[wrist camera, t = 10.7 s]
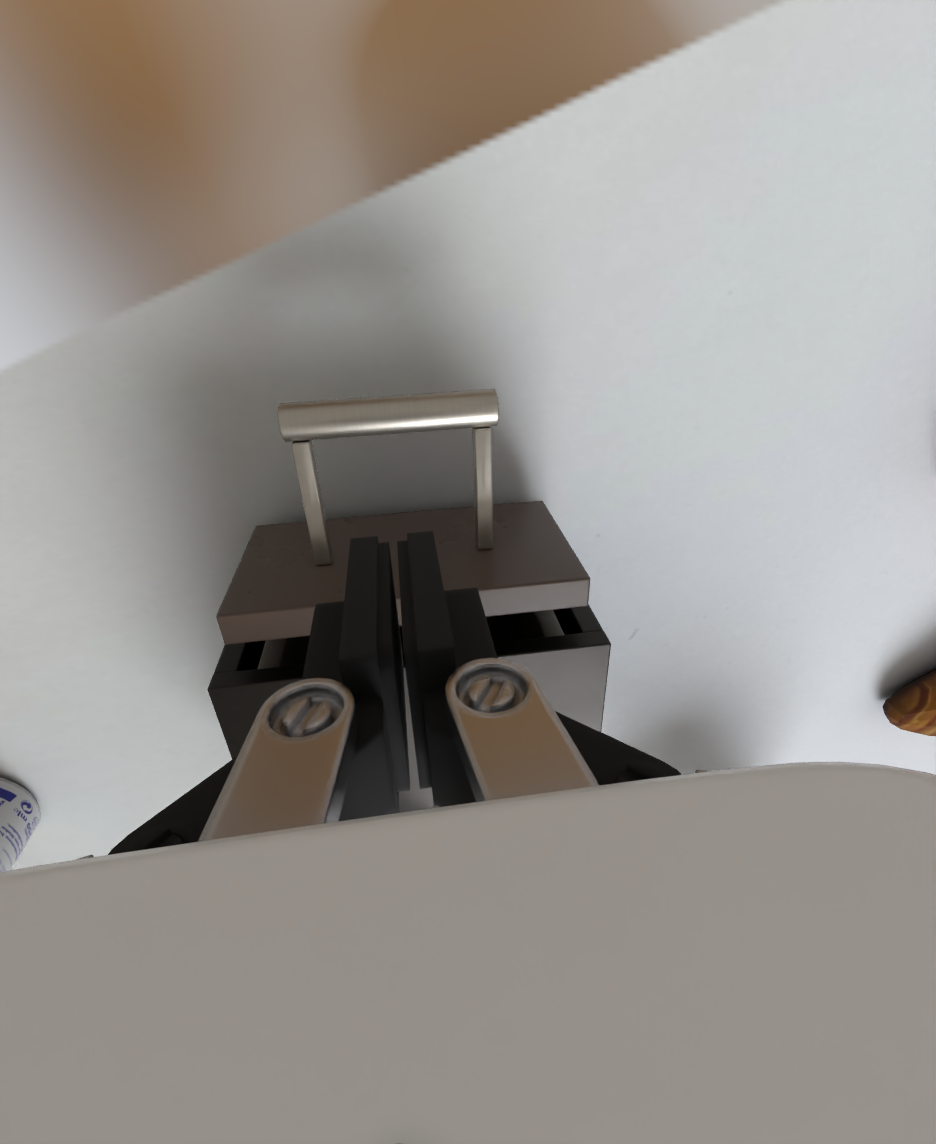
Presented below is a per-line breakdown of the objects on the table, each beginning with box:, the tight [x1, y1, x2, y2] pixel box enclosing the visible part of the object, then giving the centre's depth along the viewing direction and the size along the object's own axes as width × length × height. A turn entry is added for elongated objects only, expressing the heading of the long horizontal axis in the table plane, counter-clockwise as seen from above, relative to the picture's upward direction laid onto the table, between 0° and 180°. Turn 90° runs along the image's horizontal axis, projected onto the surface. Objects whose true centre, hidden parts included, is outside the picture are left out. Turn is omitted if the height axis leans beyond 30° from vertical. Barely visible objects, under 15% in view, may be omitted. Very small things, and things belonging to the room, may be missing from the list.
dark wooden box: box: [208, 605, 611, 814], centre depth 27 cm, size 15×14×9 cm
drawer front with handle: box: [216, 389, 590, 669], centre depth 24 cm, size 19×12×7 cm, turn 2°
